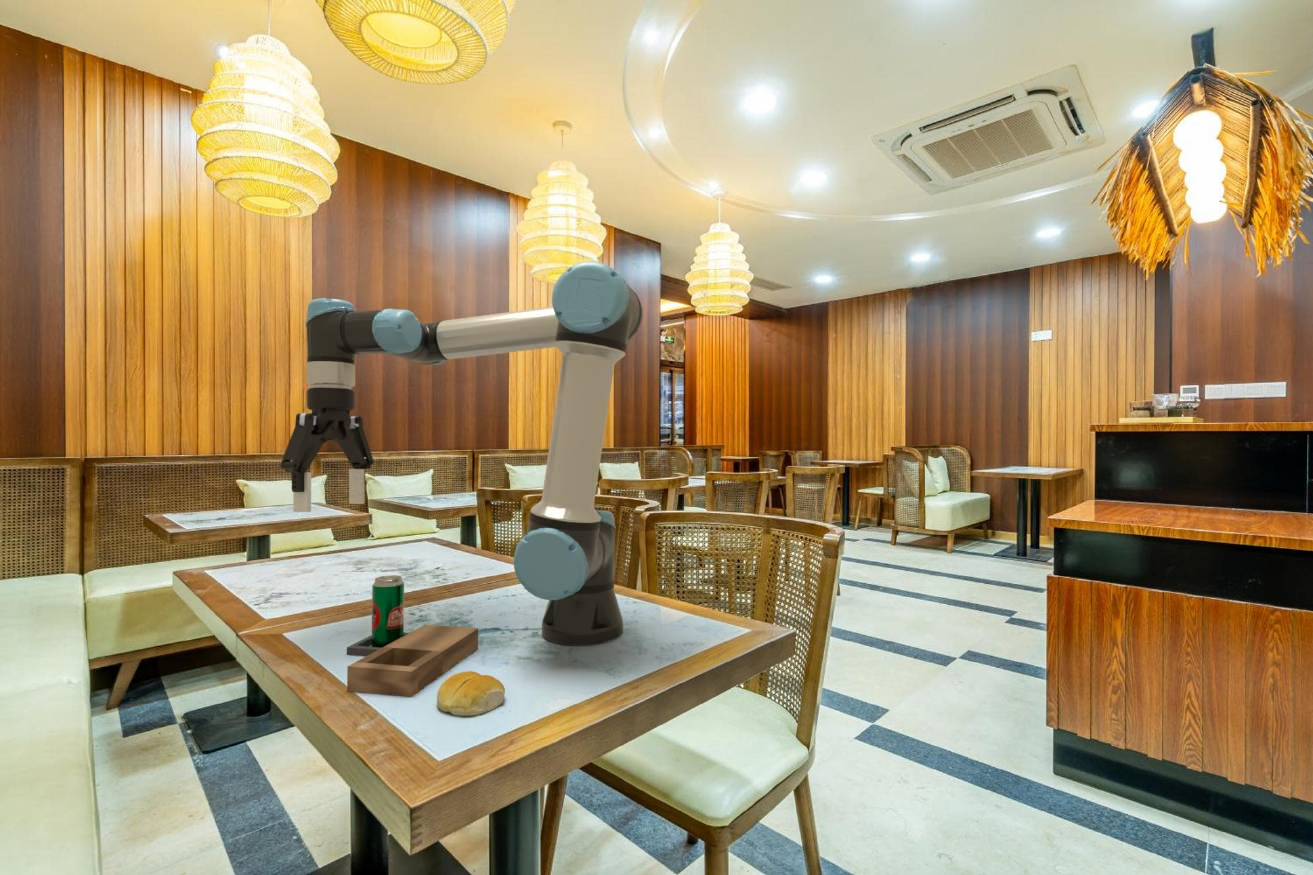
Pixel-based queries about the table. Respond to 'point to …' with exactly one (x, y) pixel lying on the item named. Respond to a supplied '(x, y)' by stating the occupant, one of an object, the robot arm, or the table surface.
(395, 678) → the caddy
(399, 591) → the soda can
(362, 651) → the dark square frame
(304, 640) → the table surface
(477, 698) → the bread roll
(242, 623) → the table surface
